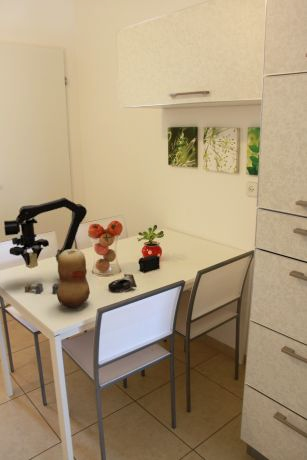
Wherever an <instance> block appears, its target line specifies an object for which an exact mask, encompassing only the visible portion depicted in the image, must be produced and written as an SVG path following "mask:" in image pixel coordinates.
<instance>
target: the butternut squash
mask: <svg viewBox="0 0 307 460" xmlns="http://www.w3.org/2000/svg"><path fill="white" fill-rule="evenodd" d="M87 270H88V269H87V262H86V256H85V254H84V252H83V251H82V250H80V249H77V248H72V249H68V250H65V251H63V252H62V253H61V254H60V255H59V258H58V263H57V273H58V277H59V286H58V290H57V294H56V297H57V300H58V302H59V303H61V304H62V306H66V307H72V308H77V307H79V306H81V305H83V304H84V303H85V302H87V301H88V300H89V297H90V294H91V292H90V286H89V282H88V279H87V277H86V276H87V272H88V271H87Z"/></svg>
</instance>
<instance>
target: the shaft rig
mask: <svg viewBox="0 0 307 460" xmlns="http://www.w3.org/2000/svg"><path fill="white" fill-rule="evenodd" d="M59 283H60V282H59ZM59 283H58V282H54V283H53V285H52V287H51V288H52V294H53V295H57V290H58V286H59ZM23 288H24V293H27V294H29V293H30V292H32V291H35V294H36V295H41V293H42V292H43V291H44V288H43V282H38V283H37V284H36V285H32V284H30V283H28V284H26V285H24V287H23Z"/></svg>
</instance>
